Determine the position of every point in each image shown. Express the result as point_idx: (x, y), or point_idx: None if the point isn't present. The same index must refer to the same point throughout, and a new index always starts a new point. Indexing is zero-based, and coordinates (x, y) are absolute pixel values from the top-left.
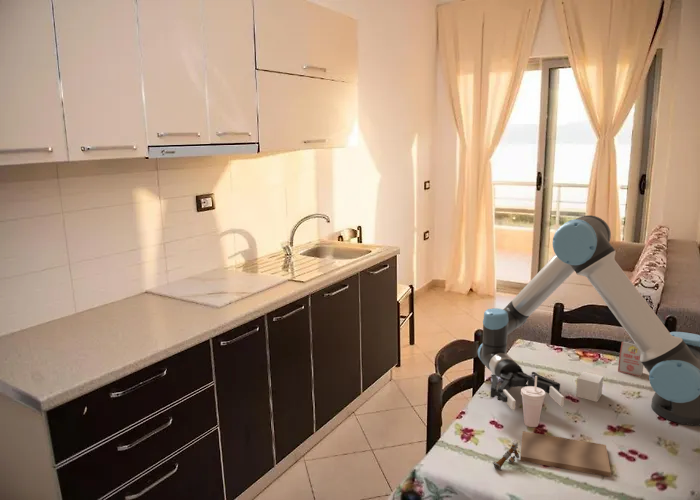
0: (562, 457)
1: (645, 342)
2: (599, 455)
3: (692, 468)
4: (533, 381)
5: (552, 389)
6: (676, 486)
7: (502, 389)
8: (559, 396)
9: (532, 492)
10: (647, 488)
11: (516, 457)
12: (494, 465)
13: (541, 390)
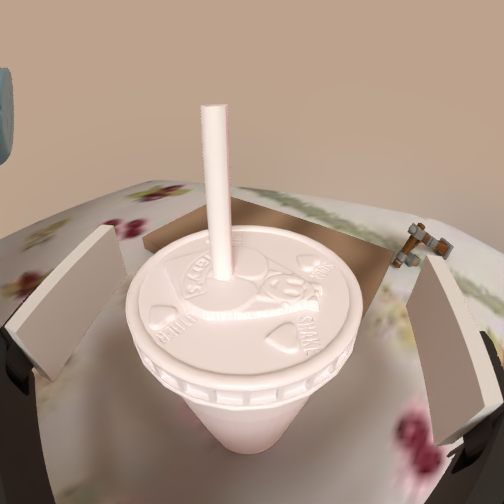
0: (290, 229)
1: None
2: (197, 219)
3: (91, 201)
4: (13, 498)
5: (44, 304)
6: (154, 186)
7: (500, 422)
8: (103, 243)
9: (386, 211)
10: (195, 188)
11: (398, 266)
12: (447, 255)
13: (168, 261)
